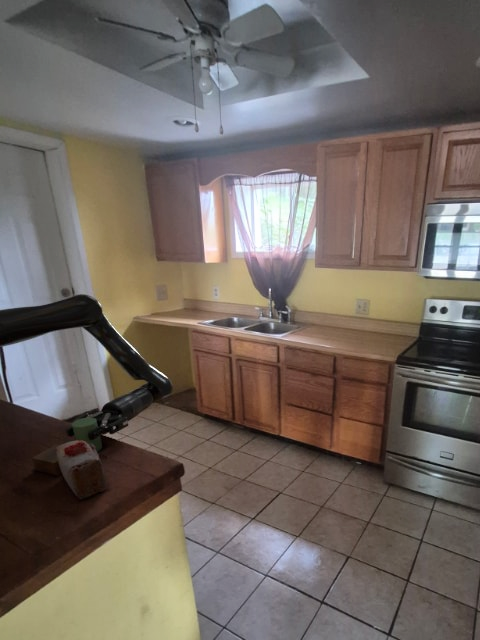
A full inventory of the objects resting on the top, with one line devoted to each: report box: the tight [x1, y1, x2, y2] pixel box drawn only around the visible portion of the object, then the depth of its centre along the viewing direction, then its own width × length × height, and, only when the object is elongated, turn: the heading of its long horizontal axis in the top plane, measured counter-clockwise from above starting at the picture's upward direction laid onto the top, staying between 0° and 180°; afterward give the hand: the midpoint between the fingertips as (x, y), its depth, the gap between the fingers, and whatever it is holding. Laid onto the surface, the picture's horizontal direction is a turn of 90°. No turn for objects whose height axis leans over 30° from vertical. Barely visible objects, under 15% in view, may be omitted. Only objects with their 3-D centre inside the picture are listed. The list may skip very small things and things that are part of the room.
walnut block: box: [31, 443, 62, 476], centre depth 91 cm, size 7×7×4 cm
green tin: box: [71, 417, 103, 452], centre depth 97 cm, size 6×6×8 cm
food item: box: [56, 440, 108, 500], centre depth 84 cm, size 14×8×10 cm, turn 44°
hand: (78, 435), depth 95 cm, fingers open, 6 cm apart
